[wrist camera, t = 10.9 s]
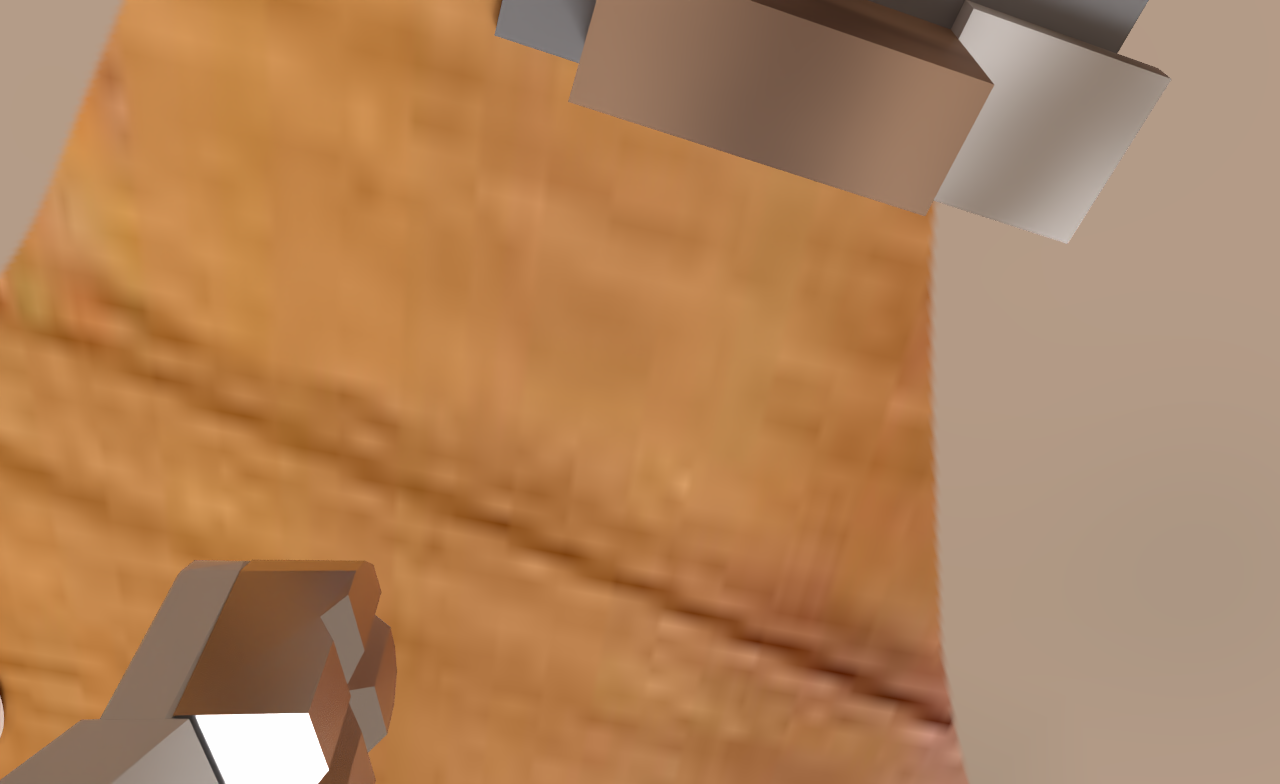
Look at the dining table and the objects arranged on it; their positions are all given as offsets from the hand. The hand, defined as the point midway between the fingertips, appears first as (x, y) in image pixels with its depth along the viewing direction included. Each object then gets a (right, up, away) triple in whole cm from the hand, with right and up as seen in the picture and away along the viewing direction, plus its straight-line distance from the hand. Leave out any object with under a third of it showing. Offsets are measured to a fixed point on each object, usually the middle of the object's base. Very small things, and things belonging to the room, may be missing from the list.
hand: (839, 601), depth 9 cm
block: (+4, +10, +15) cm, 18 cm away
